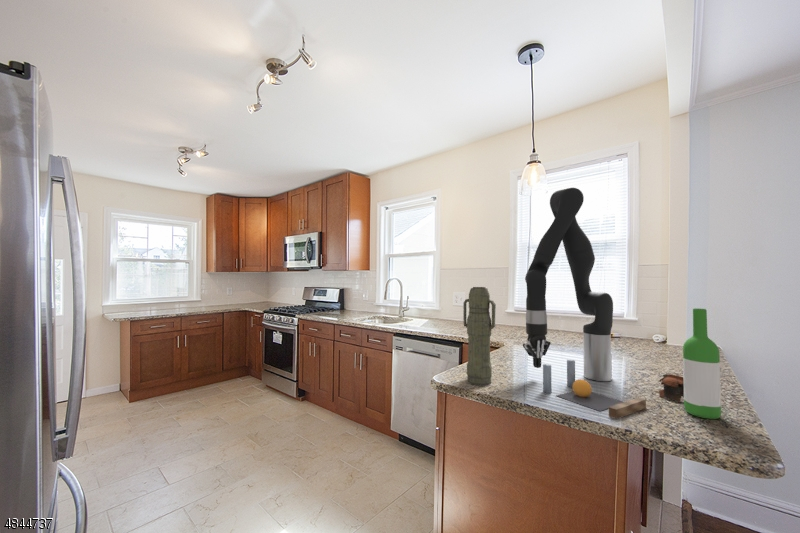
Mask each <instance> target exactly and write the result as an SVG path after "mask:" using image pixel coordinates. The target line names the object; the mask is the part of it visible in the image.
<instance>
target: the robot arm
mask: <svg viewBox="0 0 800 533" xmlns="http://www.w3.org/2000/svg"><path fill="white" fill-rule="evenodd" d="M584 199H585V198H584V193H583V192H582V190H580V189H579V188H577V187H565V188H562V189H559V190H556V191H554V192H553V193H552V194H551V196H550V198H549V206H550V209H551V211H552V215H553V217H554V220H553V222H552V223H551V225H550V226H549V228H548V229H547V231H546V232H545V233H544V235H543V236H542V237H541V239H540V241H539V243H538V245H537V247H536V250H535V253H534V255H533V259H532V260H531V263H530V265H529V267H528V270H527V272H526V274H525V278H524V280H525V283H526V299H525V308H526V310H525V333H526V334H527V340H526V343H523V344H522V347H523V349H524V351H526V354H528V356H529V357H532V365H533V367H534V368H537V369H539V368H541V367H542V358H543V356H546V354H547V353H548V352H547V351H548V350H549V347H550V346H551V341H549V340H547V335H548V314H547V300H546V295H547V294H546V293H547V274H548V271H549V268H550V267H551V266H552V264H553V262H554V260H555V258H556V255H557V253H558V251H559V248H560V245H561V243H562V245H563V247H564V253H565V255H566V259H567V263H568V265H569V268H570V269H569V270H570V273H571V277H572V281H573V285H574V292H575V296H576V298H575V299H576V302H577V303H576V304H577V307H578V308H579V311H580V312H581V314H584V315H587V316H594V320H593V321H592V322H591V323H586V324H584V325H583V327H582V330H583V331H582V335H583V337H582V338H583V339H582V340H583V342H582V343H583V344H582V345H583V376H584V377H585V378H586V379H589V380H592V381H597V382H610V381H612V379H613V362H612V360H613V359H612V358H613V355H612V328H613V321H614V320H613V317H614V301H613V297H612V296H611V295H610V294H609V293H607V292H603V291H602V292H601V291H598V292H596V291H592V289H591V286H590V275H591V273H592V270H593V268H594V266H595V265H594V264H595V261H596V260H595V259H596V257H595V253H594V250H593V246H592V243H591V241H590V239H589V237H588V236H587V235H586V233H585V232H584V230H583V229H582V228H581V226H580V225H579V223H578V220H577V218H576V216H577V215H578V213H579V211H580V209H581V208H582V206H583V203H584Z"/></svg>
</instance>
